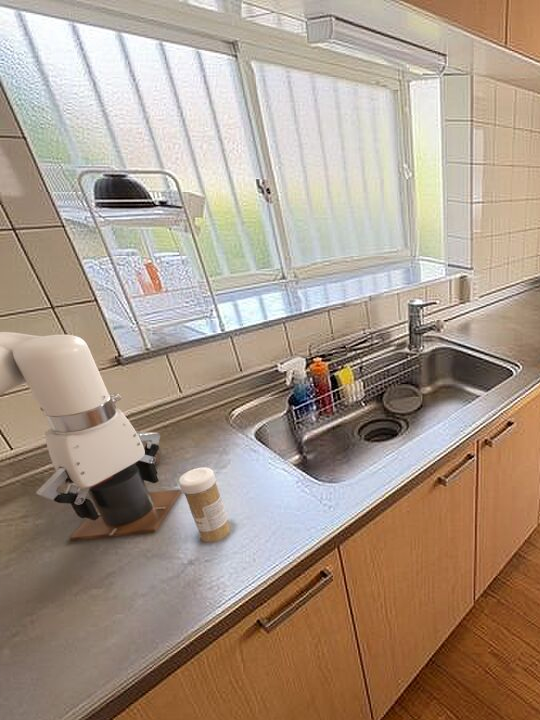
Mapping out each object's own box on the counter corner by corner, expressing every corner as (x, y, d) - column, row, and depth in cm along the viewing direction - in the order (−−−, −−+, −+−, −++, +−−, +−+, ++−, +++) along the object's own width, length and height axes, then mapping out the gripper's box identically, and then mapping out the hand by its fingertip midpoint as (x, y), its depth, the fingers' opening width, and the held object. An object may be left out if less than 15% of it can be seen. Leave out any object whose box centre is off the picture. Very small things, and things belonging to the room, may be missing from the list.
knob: (137, 494, 78) (121, 458, 74) (162, 504, 76) (147, 468, 72) (94, 518, 72) (74, 481, 69) (120, 530, 71) (101, 493, 67)
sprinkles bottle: (197, 538, 72) (172, 477, 66) (225, 522, 75) (204, 462, 69) (209, 551, 70) (185, 489, 64) (238, 534, 73) (218, 473, 67)
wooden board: (70, 546, 69) (66, 539, 68) (111, 500, 78) (107, 493, 78) (155, 537, 72) (152, 530, 71) (184, 493, 81) (182, 486, 80)
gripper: (124, 386, 73) (156, 464, 81) (-10, 438, 59) (45, 528, 66) (157, 393, 72) (186, 472, 80) (27, 450, 57) (79, 540, 65)
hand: (122, 497), depth 73 cm, fingers open, 9 cm apart
